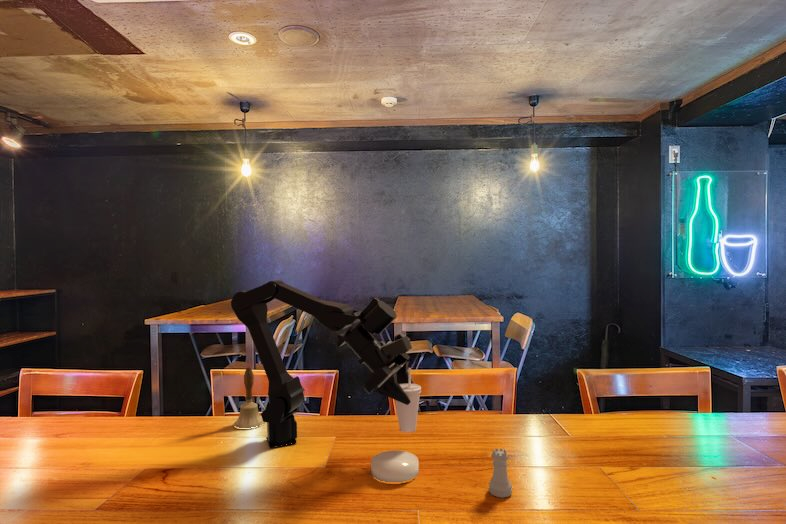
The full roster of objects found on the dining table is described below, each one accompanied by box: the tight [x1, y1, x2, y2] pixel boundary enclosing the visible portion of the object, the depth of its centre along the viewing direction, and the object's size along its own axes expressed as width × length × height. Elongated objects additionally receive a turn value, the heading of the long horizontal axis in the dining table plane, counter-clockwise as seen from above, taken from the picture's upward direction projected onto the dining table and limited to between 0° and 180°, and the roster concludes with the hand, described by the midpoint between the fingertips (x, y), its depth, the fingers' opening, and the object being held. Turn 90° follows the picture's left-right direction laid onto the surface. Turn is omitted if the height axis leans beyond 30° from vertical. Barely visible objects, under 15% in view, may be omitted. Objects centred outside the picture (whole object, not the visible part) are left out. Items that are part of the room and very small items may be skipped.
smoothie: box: [395, 367, 422, 434], centre depth 102 cm, size 6×6×14 cm
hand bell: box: [233, 366, 266, 428], centre depth 124 cm, size 8×8×16 cm
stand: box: [370, 450, 420, 482], centre depth 94 cm, size 10×10×2 cm
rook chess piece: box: [488, 448, 513, 499], centre depth 86 cm, size 4×4×8 cm
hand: (413, 398), depth 101 cm, fingers closed on smoothie, 6 cm apart
